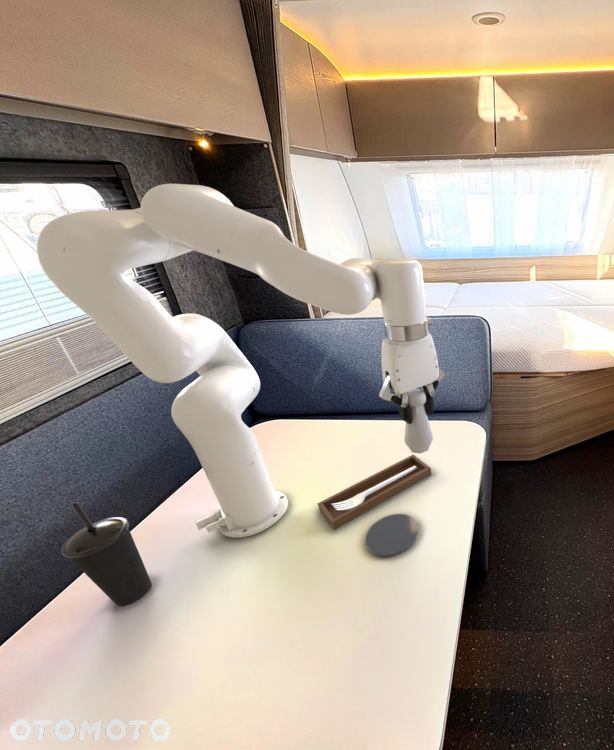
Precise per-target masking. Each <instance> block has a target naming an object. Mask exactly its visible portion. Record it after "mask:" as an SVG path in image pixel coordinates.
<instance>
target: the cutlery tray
mask: <svg viewBox="0 0 614 750" xmlns="http://www.w3.org/2000/svg"><path fill="white" fill-rule="evenodd" d="M413 466H416V467H417V469H415V470H413V471H411V472H409V473H407V474H406V475H404V476H402V477H400V478H398V479H396V480H395V481H393V482H391V483H389V484H387V485H385V486H383V487H382V488H380V489H378V490H376V491H374V492H372V493H371V494H369V495H367V496H366V497H365V499H364V502H363V503H362V504H360V505H358V506H356V507H354V508H353V509H349V510H336V509H341V508H334V507H333V506H335V505H332V504H334V503H339V502H343V501H346V500H348V499H350V498H352V497H354V496H356V495H357V494H360V493H362V492H364V491H366V490H368V489H370V488H372V487H374V486H376V485H378V484H380V483H382V482H384V481H386V480H388V479H390V478H392V477H394V476H396V475H398V474H400V473H402V472H403V471H405V470H407V469H409V468H411V467H413ZM430 476H432V468H431V467H430V466H429V465H428V464H427V463H425V462H424V461H423V460H421V459H420V458H419V457H417V456H416V455H415V453H412V454H411V455H409V456H407V457H405V458H402V460H399V461H397V462H395V463H393V464H391V465H390V466H388V467H386V468H384V469H382V470H380V471H378V472H376V473H374V474H372V475H370V476H368V477H366V478H365V479H362V480H360V481H359V482H357V483H354V484H352V485H351V486H349V487H347V488H345V489H343V490H341V491H339V492H337V493H335V494H333V495H331V496H329V497H327V498H326V499H323V500H322V501H319V502H317V506H318V507H317V508H318V510H319V512H320V513H321V515H322V516H323V517H324V519H325V521H327V523H328V525H329V526H330V527H331V529H332V530H333V531H335V530H337V529H338V528H340V527H342V526H344V525H346V524H347V523H349V522H351V521H353V520H355V519H356V518H358V517H359V516H361V515H363V514H365V513H366V512H368V511H370V510H372V509H373V508H375V507H378V506H379V505H381V504H382V503H384V502H386V501H388V500H390V499H391V498H393V497H394V496H397V495H399V494H400V493H402V492H403V491H405V490H407V489H409V488H411V487H413V486H414V485H416V484H418V483H420V482H421V481H423V480H425V479H426V478H428V477H430ZM339 505H341V504H339ZM339 507H341V506H339Z"/></svg>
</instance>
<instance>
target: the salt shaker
mask: <svg viewBox="0 0 614 750" xmlns="http://www.w3.org/2000/svg"><path fill="white" fill-rule="evenodd" d="M425 402H426V395H425V392H423V391H422V389H420V388H417V389H414V390H411V391H409V392H408V405H409V406H410V407H411V413H412V421H413V422H412V424H408V423H406V422H405V426H404V427H405V429H404V444H405V445H406V446H407V448H408V449H409V450H410V452H411V453H412V454H423V453H425V452H428V451H429V449H430V446H431V444H432V442H433V441H434V435H433V432H432V428H431V425H430V421H429V418H428V413H426V410H425V407H424V403H425Z"/></svg>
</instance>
